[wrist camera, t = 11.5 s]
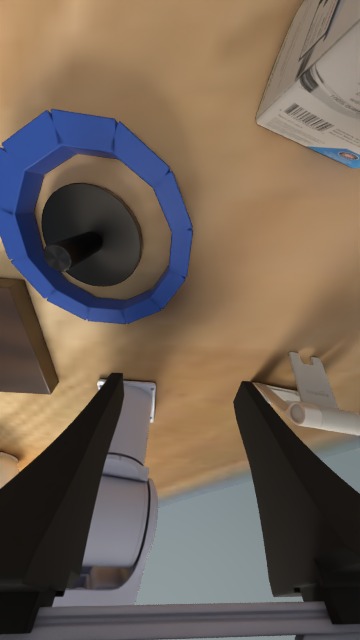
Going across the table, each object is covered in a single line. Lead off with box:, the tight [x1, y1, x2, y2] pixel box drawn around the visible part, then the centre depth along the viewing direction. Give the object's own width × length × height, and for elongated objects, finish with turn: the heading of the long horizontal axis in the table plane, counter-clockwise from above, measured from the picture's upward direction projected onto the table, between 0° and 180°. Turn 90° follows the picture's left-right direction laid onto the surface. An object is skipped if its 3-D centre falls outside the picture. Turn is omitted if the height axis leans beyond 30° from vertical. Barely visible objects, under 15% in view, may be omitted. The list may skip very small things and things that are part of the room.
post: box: [41, 183, 142, 286], centre depth 14 cm, size 8×8×6 cm
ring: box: [0, 109, 193, 324], centre depth 16 cm, size 15×15×2 cm
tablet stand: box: [252, 352, 360, 436], centre depth 23 cm, size 9×8×8 cm
